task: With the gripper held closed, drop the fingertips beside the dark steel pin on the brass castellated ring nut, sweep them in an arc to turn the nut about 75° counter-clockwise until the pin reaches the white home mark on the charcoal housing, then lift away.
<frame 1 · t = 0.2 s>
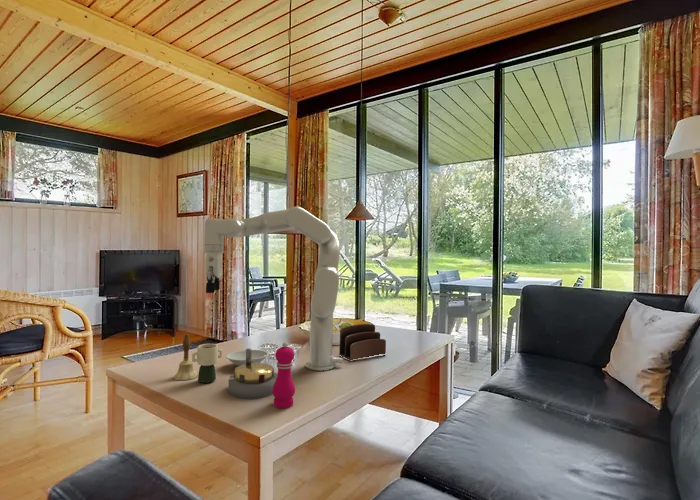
hand: (213, 291, 159), 31 cm above the table, tool pointing down, fingers open, 9 cm apart
ring nut: (254, 365, 137), point 8 cm above the table, hinge at 0.0°
character mug: (206, 381, 143), on the table
dish: (247, 367, 161), on the table
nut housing: (253, 389, 137), on the table
pepper mill: (283, 404, 125), on the table
letter holder: (362, 356, 181), on the table
hand bell: (185, 377, 147), on the table
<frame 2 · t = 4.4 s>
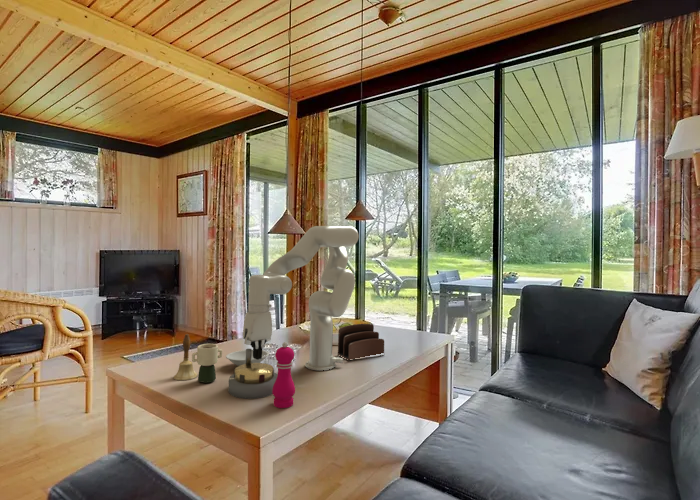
hand: (257, 358, 144), 9 cm above the table, tool pointing down, fingers closed
ring nut: (254, 365, 137), point 8 cm above the table, hinge at 0.5°, touching gripper
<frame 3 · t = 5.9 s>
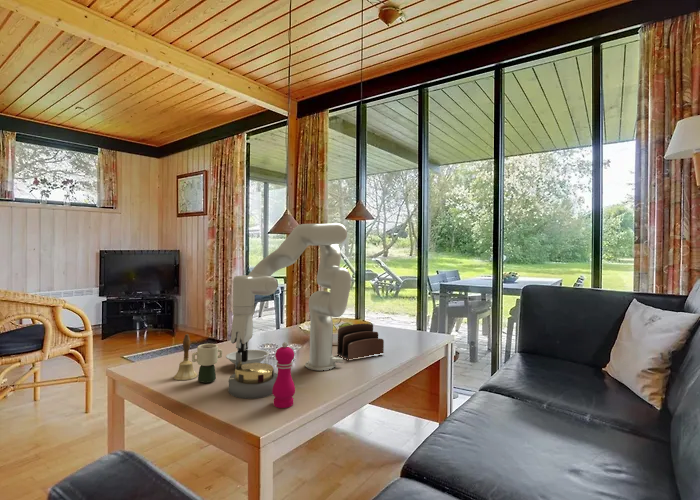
hand: (242, 361, 140), 9 cm above the table, tool pointing down, fingers closed
ring nut: (254, 365, 137), point 8 cm above the table, hinge at 56.4°, touching gripper
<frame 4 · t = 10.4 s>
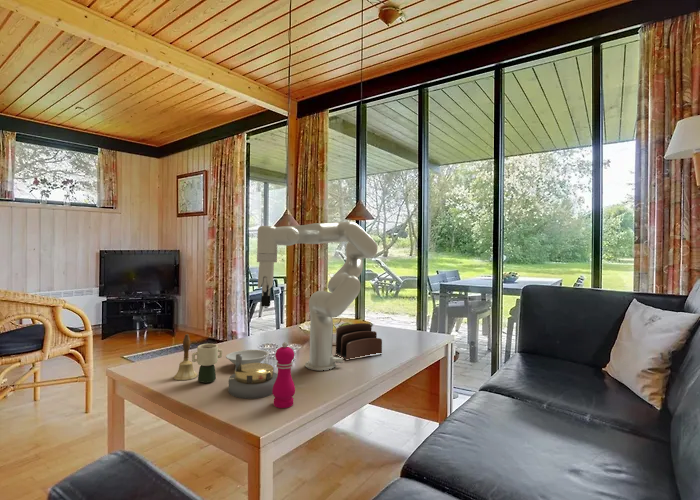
hand: (265, 306, 150), 27 cm above the table, tool pointing down, fingers closed
ring nut: (254, 365, 137), point 8 cm above the table, hinge at 84.4°
at the end: ring nut at +84° (first picture: +0°) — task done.
